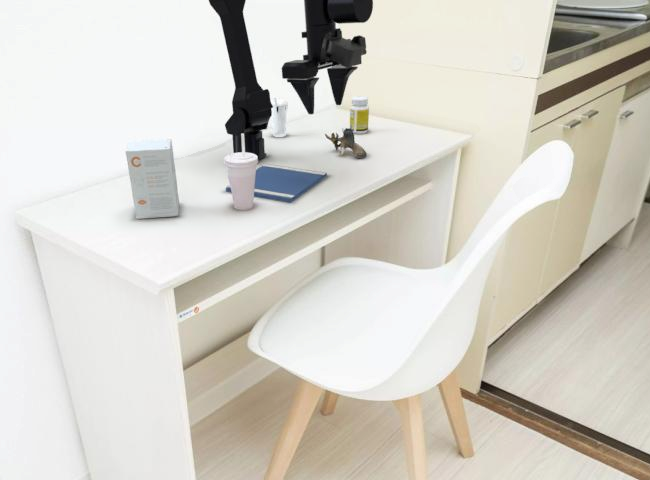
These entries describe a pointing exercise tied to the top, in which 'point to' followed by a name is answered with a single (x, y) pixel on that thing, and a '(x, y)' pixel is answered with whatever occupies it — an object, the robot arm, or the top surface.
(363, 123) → the supplement bottle
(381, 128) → the top surface
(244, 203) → the smoothie
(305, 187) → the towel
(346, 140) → the eagle figurine
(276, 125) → the milkshake
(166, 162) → the small box
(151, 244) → the top surface
